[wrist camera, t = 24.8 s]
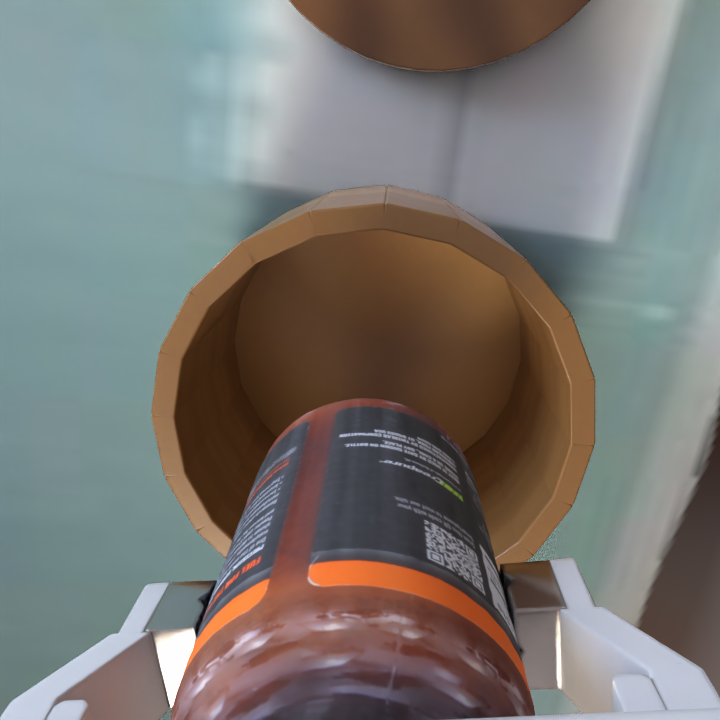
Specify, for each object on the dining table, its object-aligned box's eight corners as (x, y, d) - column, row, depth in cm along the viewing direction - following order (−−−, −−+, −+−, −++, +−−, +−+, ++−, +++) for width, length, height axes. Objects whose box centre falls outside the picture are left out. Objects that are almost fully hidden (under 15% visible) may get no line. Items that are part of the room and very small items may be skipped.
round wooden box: (303, 526, 34) (271, 663, 25) (166, 266, 30) (71, 318, 21) (578, 424, 32) (651, 535, 23) (467, 128, 28) (502, 121, 19)
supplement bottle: (255, 571, 19) (88, 1099, 9) (264, 379, 18) (64, 750, 7) (461, 591, 19) (546, 1151, 9) (491, 400, 18) (647, 812, 7)
